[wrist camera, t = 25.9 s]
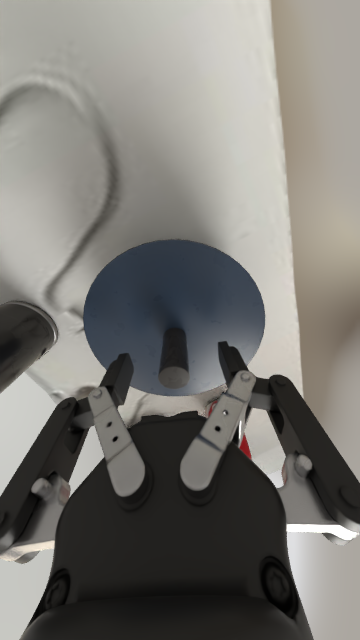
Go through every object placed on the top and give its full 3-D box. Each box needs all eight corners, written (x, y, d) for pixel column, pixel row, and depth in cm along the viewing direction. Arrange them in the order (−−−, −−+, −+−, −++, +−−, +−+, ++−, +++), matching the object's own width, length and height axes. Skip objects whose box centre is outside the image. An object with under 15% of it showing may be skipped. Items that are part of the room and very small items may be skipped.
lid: (119, 395, 23) (100, 451, 18) (55, 256, 15) (-26, 273, 9) (254, 380, 22) (281, 435, 17) (269, 222, 14) (337, 217, 8)
